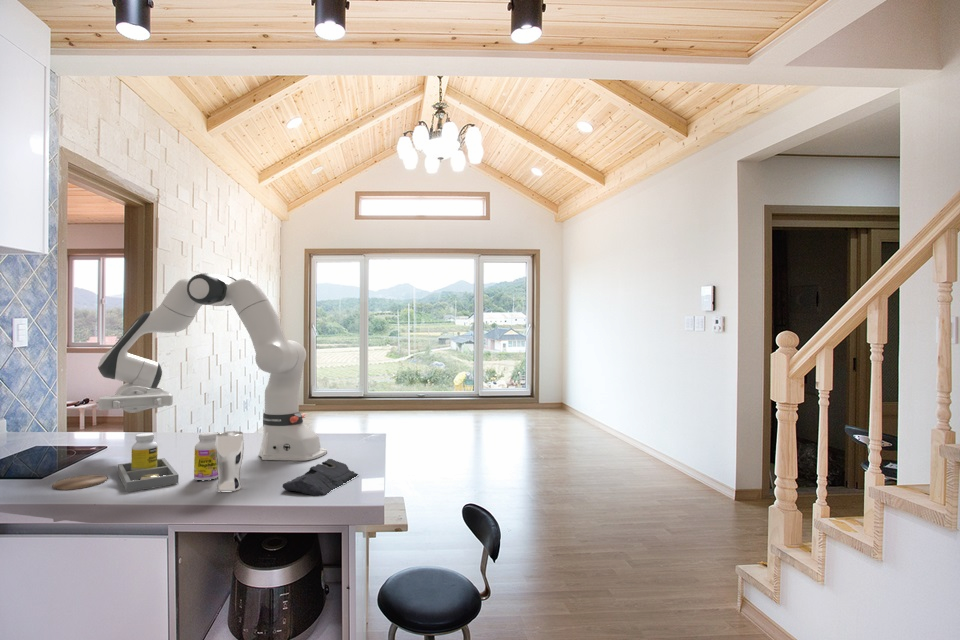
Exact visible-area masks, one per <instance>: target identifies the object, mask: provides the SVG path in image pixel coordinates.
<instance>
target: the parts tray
mask: <svg viewBox="0 0 960 640" xmlns="http://www.w3.org/2000/svg"><path fill="white" fill-rule="evenodd" d="M117 474H118V476H119V479H120V480H121V481H120V482H121V483H122V485H123V487H124V489H125V492H126V493H130V492H136V491H141V490H147V489H153V488H154V489H155V488H159V487H165V486H166V485H167V486H172V485H171V484H173V485H177V484H176V483H178V484H179V479H180V478H179V473H178V472H177V471H176V469H174V467H173V466H172V465H171V464H170V463H169V461H167V459H166V457H164V458H157V468H150V469H143V470H136V471H131V462H126V463H118V464H117ZM148 474H159V476H160V477H154V478H147V479H141V476H144V475H148ZM163 475H167V476H163ZM138 479H140V480H138ZM132 480H134V481H132ZM167 486H166V487H167Z"/></svg>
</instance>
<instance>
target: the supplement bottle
mask: <svg viewBox="0 0 960 640" xmlns="http://www.w3.org/2000/svg"><path fill="white" fill-rule="evenodd" d="M216 434H218V433H217V432H215V431H209V432H207V431H205V432H201V433H198V440H199V442H197V443H196V444H195V445H194V458H193V459H194V463H193V465H194V468H193V478H194V480H195V481H197V480H208V481H211V480H210V479H214V478H216V479H218V478H217V477H218V470H217V465H216V458H215V443H216ZM214 480H215V479H214Z"/></svg>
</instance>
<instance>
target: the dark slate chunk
mask: <svg viewBox="0 0 960 640" xmlns="http://www.w3.org/2000/svg"><path fill="white" fill-rule="evenodd" d="M357 475H359V474H358V473H356V472H355V471H354V470H353V471H352V470H350V469H349V467H348V465H347V464H346V463H344V462H341V461H338V460H334V459H332V458H328V459H326V460H325V461H323V462H321V464H320V463H318V464H316V465H315V466H314V465H313V466H311V467H310V468H309V470H308V471H307V472H305V473H304V474H303V475H300V476H297V477H296V478H293V479H291V480H289V481H286V482H285V483H283V484H282V488H283V490H286V491H289V492H299V493H302V494H306V495H310V496H319V495H321V496H323V497H324V496H327V495H328V494H327V493H329V492H330V491H331V490H333V489H335V488H337V487H339V486H341V485H342V484H343V483H346V482H347V481H349V480H351V479H352V478H354V477H356V476H357ZM351 481H352V480H351ZM346 484H347V483H346ZM341 487H342V486H341ZM339 488H340V487H339ZM337 489H338V488H337ZM331 492H332V491H331ZM331 492H330V493H331ZM330 493H329V494H330ZM319 497H320V496H319Z"/></svg>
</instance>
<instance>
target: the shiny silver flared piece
mask: <svg viewBox="0 0 960 640" xmlns="http://www.w3.org/2000/svg"><path fill="white" fill-rule="evenodd" d="M244 444H245V443H244V432H243V431H238V430H232V431H231V430H229V431H221V432H218V433H217V434H216V443H215V458H216V465H217V470H218V478H217V484H216V490H217V491H234V492H237V491H240V490H242V484H241V475H240V474H241V468H242V463H243V459H244V452H245V451H244V449H245V448H244ZM216 490H215V491H216ZM236 490H237V491H236ZM217 491H216V492H217Z"/></svg>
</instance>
